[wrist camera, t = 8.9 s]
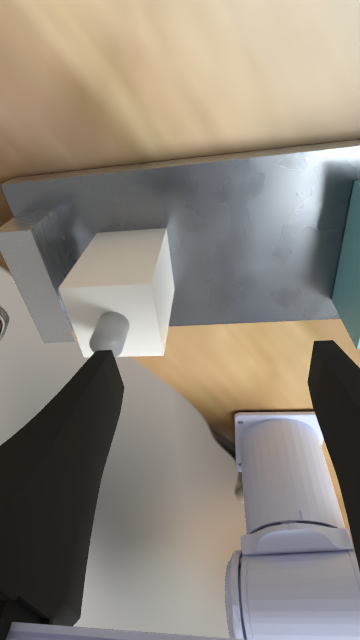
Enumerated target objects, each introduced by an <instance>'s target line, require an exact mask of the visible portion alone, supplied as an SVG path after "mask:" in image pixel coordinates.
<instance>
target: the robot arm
mask: <svg viewBox="0 0 360 640" xmlns="http://www.w3.org/2000/svg"><path fill="white" fill-rule="evenodd" d="M308 386H309V391H310V396H311V400H312V405H313V409H314V412H239V413H236V414H235V451H236V470H237V471H239V472H242V479H243V492H244V505H245V518H246V531H247V535H242V536H241V548H242V550H237V551H235V552H234V553H233V555H232V557H231V559H230V561H229V562H228V565H227V569H226V576H225V604H226V615H227V623H228V630H229V635H230V638H218V637H205V636H192V635H178V634H165V633H152V632H138V631H125V630H113V629H99V628H85V627H73V625H74V624H75V623H76V622H77V621H78V620H79V618H80V615H81V606H82V598H83V589H84V581H85V573H86V565H87V559H88V552H89V545H90V538H91V532H92V526H93V520H94V514H95V509H96V503H97V498H98V493H99V488H100V482H101V478H102V474H103V470H104V466H105V463H106V460H107V456H108V453H109V450H110V446H111V443H112V439H113V436H114V432H115V429H116V426H117V422H118V419H119V415H120V411H121V405H122V398H123V393H124V385H123V382H122V379H121V376H120V373H119V370H118V367H117V364H116V361H115V358H114V355H113V352H112V350H97V351H95V353H94V354H93V355H92V356H91V357H90V358H89V359H88V360H87V362H86V363H85V364H84V365H83V366H82V367H81V368H80V369H79V371H78V372H77V373H76V374H75V375H74V376H73V377H72V379H71V380H70V381H69V382H68V383H67V384H66V385H65V386H64V387H63V389H62V390H61V391H60V392H59V393H58V394H57V395H56V396H55V397H54V398H53V399H52V400H51V401H50V402H49V403H48V404H47V405H46V406H45V407H44V408H43V409H42V410H41V411H40V412H39V413H38V414H37V415H36V416H35V417H34V418H33V419H32V420H30V421H29V423H27V424H26V425H25V426H24V427H23V428H21V429H20V430H19V431H18V432H17V433H16V434H15V435H13V436H12V437H11V438H10V439H8V440H7V441H6V442H5V443H3V444H2V445H1V446H0V640H360V368H359V367H358V366H357V365H356V364H355V363H354V362H353V361H352V360H351V359H350V358H349V357H348V355H347V354H346V353H345V352H344V351H343V350H342V349H341V348H340V347H339V346H338V345H337V344H336V343H335V342H334V341H333V340H329V341H314V345H313V351H312V358H311V364H310V371H309V377H308ZM323 439H324V441H325V443H326V446H327V449H328V452H329V455H330V457H331V460H332V463H333V466H334V469H335V472H336V475H337V478H338V481H339V485H340V489H341V493H342V497H343V501H344V505H345V509H346V513H347V517H348V522H349V526H350V530H351V535H352V539H353V543H354V548H355V551H354V548H353V544H352V541H351V537H350V534H349V531H348V529H347V528H345V525H344V522H343V518H342V515H341V512H340V508H339V505H338V501H337V498H336V495H335V491H334V488H333V484H332V481H331V477H330V474H329V471H328V467H327V464H326V460H325V457H324V453H323V450H322V443H323ZM355 553H356V554H355Z"/></svg>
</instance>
